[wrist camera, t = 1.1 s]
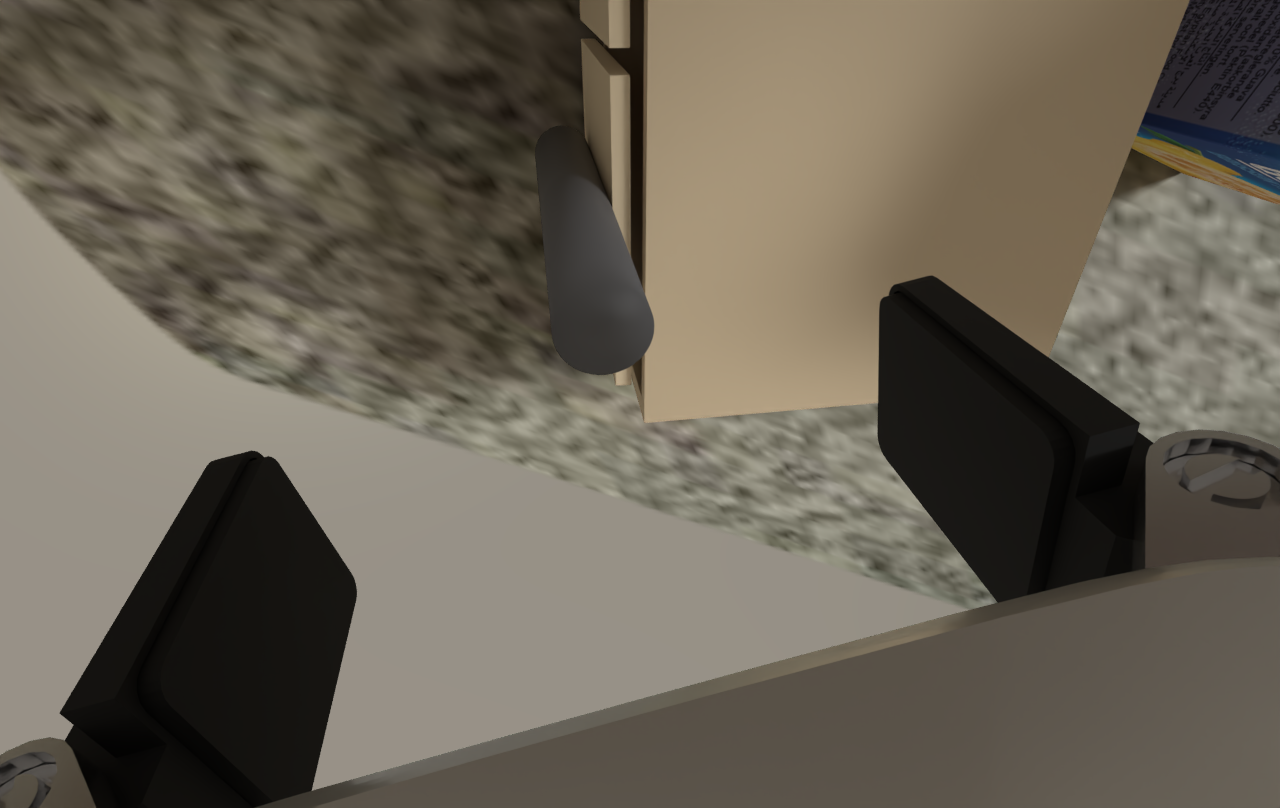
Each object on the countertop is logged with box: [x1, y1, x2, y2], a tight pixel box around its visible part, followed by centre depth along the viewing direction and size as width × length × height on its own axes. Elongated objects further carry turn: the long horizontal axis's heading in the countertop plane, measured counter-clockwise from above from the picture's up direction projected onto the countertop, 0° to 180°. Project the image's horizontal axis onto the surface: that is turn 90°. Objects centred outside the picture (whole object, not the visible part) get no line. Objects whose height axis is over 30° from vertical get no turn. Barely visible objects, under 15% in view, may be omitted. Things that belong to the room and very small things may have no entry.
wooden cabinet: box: [603, 0, 1190, 423], centre depth 21 cm, size 14×21×10 cm, turn 0°
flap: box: [535, 39, 654, 386], centre depth 20 cm, size 2×9×16 cm, turn 0°
